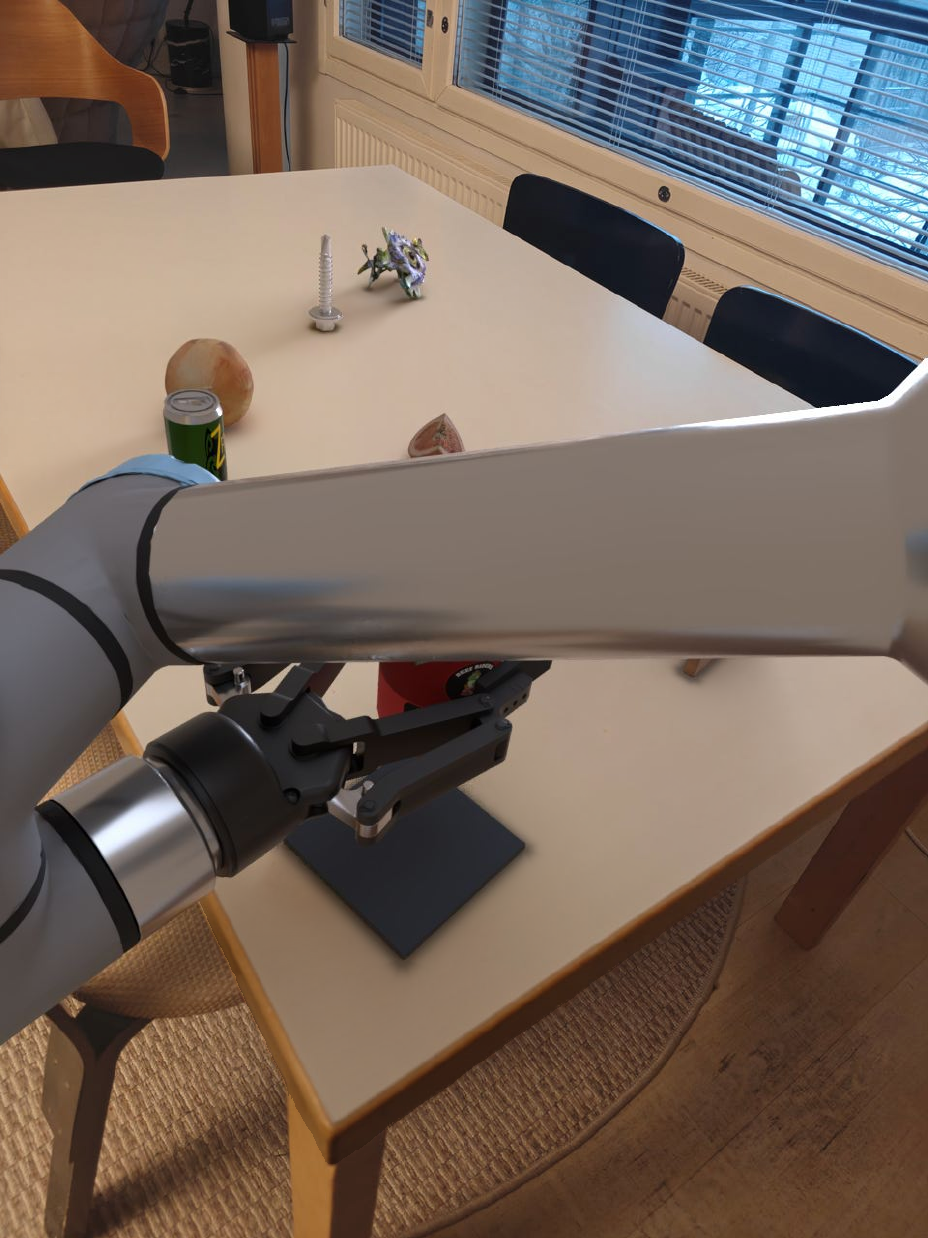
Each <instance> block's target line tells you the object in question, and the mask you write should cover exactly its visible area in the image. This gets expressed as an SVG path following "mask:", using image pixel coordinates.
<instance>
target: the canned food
mask: <svg viewBox="0 0 928 1238" xmlns="http://www.w3.org/2000/svg"><path fill="white" fill-rule="evenodd" d="M501 662H503V661H436V662H378V670H377V671H378V674H377V689H376V690H377V691H376V712H377V717H378V718H382V717H386V716H390V715H394V714H398V713H402V712H406V711H410V710H415V709H419V708H423V707H427V706H431V705H435V704H439V703H443V702H447V701H451V700H455V699H459V698H463V697H467V696H472V695H473V692H474V686H475V680H477V679H478V678H480V677H481V676H483V675H484V674H485V673H487V672H488V671H490V670H492V669H493V668H494V667H496V666H497V665H498V664H500V663H501ZM420 756H421V755H420ZM417 757H419V756H417Z"/></svg>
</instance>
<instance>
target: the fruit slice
mask: <svg viewBox="0 0 928 1238" xmlns="http://www.w3.org/2000/svg"><path fill="white" fill-rule="evenodd" d="M458 452H466V449H465V446H464V442H463V439H462V437H461V435H460V433H459V431H458V430H457V428H456V427H455V424H454V423H453V421H452V420H451V418H450V417H449V416H448V415H447V414H446V413H445V412H444V413H442V414H440V415H439V416H437V417H435V418H433V419H432V420H430V421H428V422H427V423H426V424H424V425H423V426H422V427H421V428H420V429H418V431H417V432H416V433H415V434H414V436H413V437H412V438H411V440H410V441H409V444H408V446H407V454H408V455H409V458H417V457H425V456H434V455H442V454H450V453H458Z"/></svg>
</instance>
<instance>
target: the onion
mask: <svg viewBox="0 0 928 1238" xmlns="http://www.w3.org/2000/svg"><path fill="white" fill-rule="evenodd" d="M164 375H165V376H164V389H165V393H166V397H167V396H168V395H169V394H171V393H173V392H176V391H179V390H184V389H200V390H205V391H209V392H211V393H213V394H215V395H216V396H217V397H218V399H219V404H220V406H221V408H222V411H223V423H224V427H227V426H231V425H233V424H235V423H236V422H239V420H241V419H242V418H243V417H244V416H245V415H246V414H247V413H248V412H249V409H250V407H251V404H252V400H253V396H254V391H255V385H254V379H253V375H252V371H251V369H250V366H249V365H248V363H247V361H246V360H245V358H244V357H243V356H242V354H241V353H240V352H239V351H238V350H237V348H235V347H234V346H233V345H232V344H230V343H228V342H226V341H224V340H221V339H215V338H210V337H209V338H208V337H207V338H206V337H204V338H193V339H190V340H188V341H186V342H185V343H183V344H182V345H181V346H180V347H179V348H178V349H176V351H175V352H174V353H173V354H172V356H171V357H170V358H169V360H168V362H167V365H166V370H165V374H164Z"/></svg>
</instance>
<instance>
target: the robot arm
mask: <svg viewBox="0 0 928 1238" xmlns="http://www.w3.org/2000/svg"><path fill="white" fill-rule="evenodd" d="M839 657H840V658H843V657H844V658H847V657H848V658H849V657H851V658H855V657H856V658H857V657H860V658H861V657H862V658H863V657H885V658H889V659H893V660H895V661H896V662H898V663H899V664H900V665H901V666H903V667H904V668H905V669H907V670H908V671H909V672H910V673H911V674H912V675H914V676H915V677H916V678H918V680H920V681H921V682H922V683H924V684H925V685H926V686H928V358H925V359H924V360H923V361H922V362H921V363H919V364H918V366H917V367H915V369H914V370H913V371H911V373H910V374H909V375H908V376H907V377H906V378H905V379H904V380H902V382H901V383H899V385H897V387H896V388H895V389H894V390H893V391H892V392H891V393H890V394H889V395H888V396H885V397H884V398H882V399H880V400H878V401H870V402H863V403H861V402H860V403H853V404H847V405H839V406H838V405H837V406H829V407H821V408H820V407H819V408H813V409H805V410H804V409H803V410H796V411H788V412H781V413H771V414H764V415H756V416H748V417H739V418H730V419H722V420H715V421H707V422H698V423H688V424H682V425H680V424H679V425H673V426H664V427H657V428H649V429H647V428H646V429H641V430H640V429H639V430H633V431H632V430H631V431H623V432H616V433H615V432H614V433H608V434H607V433H606V434H599V435H592V436H591V435H589V436H582V437H574V438H566V439H558V440H551V441H541V442H532V443H526V444H517V445H511V446H510V445H509V446H499V447H492V448H483V449H477V450H476V449H475V450H467V451H466V450H465V452H458V453H450V454H442V455H434V456H425V457H417V458H411V457H409V458H402V459H394V460H385V461H378V462H369V463H362V464H351V465H345V466H336V467H335V466H334V467H327V468H319V469H312V470H302V471H294V472H287V473H285V472H284V473H278V474H271V475H269V474H268V475H262V476H261V475H260V476H254V477H245V478H238V479H237V478H236V479H228V481H220V480H219V479H217V478H216V477H215V476H214V475H212V474H211V473H210V472H209V471H207V470H205V469H204V468H202V467H200V466H198V465H197V464H187V463H185V462H182V461H180V460H177V459H175V457H173V456H171V455H169V454H164V453H149V454H142V455H137V456H135V457H132V458H130V459H127V460H126V461H124V462H122V463H121V464H119V465H117V466H116V467H114V468H113V469H111V470H109V471H108V472H107V473H105V474H103V475H101V476H98V477H95V478H93V479H91V480H89V481H86V483H84V484H83V485H82V486H81V487H80V488H79V489H78V490H77V491H75V492H73V493H72V494H71V495H70V496H68V498H67V499H66V501H65V502H64V503H63V504H62V505H61V506H60V507H58V508H57V509H56V510H54V512H52V513H50V515H48V516H47V517H45V519H43V520H42V521H41V522H40V523H39V524H37V525H36V526H35V527H34V528H32V529H31V530H29V532H27V533H26V534H25V535H24V536H22V537H21V538H20V539H18V540H17V541H16V542H15V543H14V544H12V545H10V547H9V548H7V549H6V550H5V551H3V552H2V553H1V554H0V1047H1V1046H2V1045H4V1044H5V1043H6V1042H8V1041H9V1040H11V1039H12V1038H14V1036H16V1035H17V1034H19V1033H20V1032H21V1031H23V1030H24V1029H25V1028H27V1027H28V1026H30V1025H31V1024H32V1023H33V1022H35V1021H36V1020H38V1019H39V1018H41V1017H42V1016H43V1015H44V1014H46V1013H47V1012H49V1011H50V1010H51V1009H53V1008H54V1007H55V1006H56V1005H58V1004H59V1003H60V1002H62V1001H64V1000H65V999H67V998H68V997H69V996H70V995H72V994H73V993H74V992H76V991H77V990H78V989H80V988H82V987H83V986H84V985H85V984H86V983H88V982H90V981H91V980H92V979H94V978H95V977H96V976H97V975H98V974H100V973H101V972H103V971H104V970H106V969H107V968H108V967H110V966H111V965H112V964H114V963H115V962H116V961H118V960H119V959H120V958H122V957H123V955H124V954H126V953H127V952H129V951H130V950H132V949H133V948H134V947H135V946H137V945H138V944H140V943H142V942H143V941H145V940H146V939H148V938H149V937H150V936H152V935H153V934H155V933H156V932H157V931H159V930H160V929H162V928H163V927H164V926H166V925H167V924H168V923H170V922H171V921H173V920H174V919H175V918H177V917H178V916H180V915H181V914H183V913H184V912H186V911H187V910H188V909H190V908H191V907H193V906H194V905H195V904H196V903H198V902H199V901H201V900H203V898H206V896H207V895H209V894H211V893H212V892H213V891H214V889H215V887H216V882H217V877H218V878H227V879H230V878H231V879H232V878H233V877H235V876H237V875H238V874H240V873H241V872H242V871H243V870H245V869H247V868H248V867H249V866H250V865H252V864H253V863H255V862H256V861H258V860H259V859H260V858H262V857H263V856H264V855H266V854H267V853H269V852H270V851H272V850H273V849H275V848H276V847H278V846H279V845H281V843H283V842H284V840H285V839H286V838H287V837H288V836H289V835H290V833H291V832H292V831H293V830H294V829H295V828H296V827H297V826H299V825H300V824H301V823H303V822H305V821H307V820H310V819H314V818H319V817H324V816H327V815H329V814H330V813H331V814H332V815H334V816H335V817H337V818H339V819H340V820H342V821H343V822H345V823H346V824H348V825H350V826H351V827H353V828H354V829H355V830H356V832H355V838H356V841H357V842H358V843H359V844H360V845H362V846H364V847H370V846H373V845H375V844H376V843H377V842H378V841H379V840H380V839H381V838H382V837H383V836H384V834H385V833H386V832H387V831H388V830H389V829H390V828H391V827H392V825H393V824H394V823H395V822H396V821H397V820H398V819H400V818H402V817H403V816H405V815H407V814H409V813H411V812H413V811H414V810H416V809H418V808H420V807H422V806H424V805H425V804H427V803H429V802H431V801H433V800H435V799H436V798H438V797H440V796H442V795H444V794H445V793H447V792H449V791H451V790H453V789H455V788H456V787H457V788H458V787H461V786H462V785H464V784H466V783H467V782H469V781H471V780H473V779H474V778H477V777H478V776H481V775H482V774H484V773H486V772H487V771H490V770H491V769H493V768H495V767H496V766H499V765H500V764H503V763H504V762H505V761H506V758H507V755H508V751H509V745H510V742H511V736H512V732H513V723H512V722H511V720H509V719H508V717H509V716H510V715H511V714H512V713H514V712H515V711H516V710H518V709H519V708H520V707H522V706H523V705H524V704H526V702H527V701H528V700H529V697H530V694H531V689H532V685H533V682H535V681H536V680H537V679H538V678H540V677H541V676H543V675H544V674H546V673H547V672H548V671H549V670H551V669H552V663H553V661H589V660H590V661H593V660H596V661H597V660H598V661H599V660H601V661H603V660H676V659H677V660H681V659H682V660H684V659H686V660H688V659H692V658H714V659H758V658H759V659H761V658H762V659H763V658H764V659H765V658H766V659H767V658H769V659H771V658H775V659H777V658H839ZM436 661H503V662H501V663H500V664H498V665H497V666H496V667H494V668H493V669H492V670H490V671H488V672H487V673H485V674H484V675H483V676H481V677H480V678H478V679H477V680H475V686H474V692H473V695H472V696H467V697H463V698H459V699H455V700H451V701H447V702H443V703H439V704H435V705H431V706H427V707H423V708H419V709H415V710H410V711H406V712H402V713H398V714H394V715H390V716H386V717H382V718H379V717H378V718H372V717H371V716H370V715H366V714H365V715H360V716H356V717H351V718H347V719H346V718H345V716H344V717H343V716H342V715H341V714H339V713H337V712H335V711H333V710H331V709H329V708H328V707H327V705H326V703H325V702H324V700H323V699H322V698H323V697H324V696H325V694H326V693H327V692H328V690H329V689H330V687H331V686H332V685H333V683H334V681H336V679H337V677H338V676H339V675H340V673H341V672H342V670H343V669H344V667H345V666H346V664H347V663H348V664H349V663H351V664H352V663H379V662H436ZM292 664H295V665H293V666H292V667H291V668H290V669H289V671H288V672H287V673H286V675H285V676H284V677H283V679H282V680H281V681H280V683H278V685H277V686H276V687H275V689H274V690H273V691H270V692H258V693H255V692H256V691H258V690H259V689H261V688H262V687H263V686H265V685H266V684H267V683H269V682H270V681H271V680H272V679H274V678H275V677H276V676H278V675H279V674H281V672H283V671H284V670H285V669H287V668H288V667H289V666H291V665H292ZM296 664H299V665H296ZM168 666H169V667H170V666H171V667H172V666H175V667H176V666H177V667H179V666H180V667H181V666H182V667H183V666H185V667H186V666H187V667H188V666H191V667H192V666H203V667H202V675H203V682H204V690H205V699H206V702H207V704H209V705H210V706H212V707H218V709H217V711H204V712H203V711H202V712H200V713H199V714H197V715H195V716H193V717H191V718H189V719H188V720H186V721H184V722H183V723H181V724H179V725H178V726H176V727H174V728H172V729H170V730H168V731H167V732H165V733H163V734H162V735H160V736H158V737H156V738H154V739H153V740H151V741H149V742H148V743H147V744H146V745H145V749H144V751H143V753H142V756H141V755H136V754H132V753H129V754H126V755H122V756H121V757H120V758H117V759H116V760H114V761H112V762H111V763H109V764H107V765H106V766H104V767H102V768H100V769H98V770H97V771H96V772H94V773H92V774H90V775H89V776H87V777H85V778H83V779H81V780H80V781H78V782H77V783H75V784H73V785H71V786H70V787H68V788H65V790H63V791H61V792H59V793H58V794H55V795H54V796H53V797H51V798H49V799H48V800H45V801H43V802H41V801H42V800H43V799H44V798H45V796H46V795H47V794H49V792H50V791H51V790H52V788H54V786H55V785H56V784H57V783H58V782H59V781H60V779H61V778H62V777H63V776H64V775H65V774H66V773H67V771H68V770H69V769H70V768H71V767H72V766H73V765H74V764H75V762H76V761H77V760H78V759H79V758H80V757H81V756H82V754H83V753H84V752H85V751H86V750H87V749H88V748H89V746H90V745H91V744H92V743H93V742H94V740H95V739H96V738H97V737H98V736H99V735H100V734H101V733H102V732H103V730H104V729H105V728H106V727H107V726H108V725H109V723H110V722H111V721H112V720H114V718H115V717H116V716H117V715H118V714H119V713H120V712H122V709H124V708H125V706H126V705H127V704H128V703H129V702H130V701H131V700H132V699H133V698H134V697H135V695H136V694H137V693H138V692H139V691H140V689H142V688H143V686H144V685H145V684H146V683H147V682H148V681H149V680H150V678H152V676H153V675H154V674H155V673H156V672H157V671H159V670H160V669H162V668H166V667H168ZM355 744H356V748H355ZM354 748H355V749H356V750H354ZM420 755H421V756H420ZM416 756H419V757H417V758H416V759H414V760H412V761H410V762H408V763H406V764H404V765H402V766H400V767H398V768H396V769H394V770H392V771H391V772H389V773H387V774H386V775H384V776H383V777H382V778H380V779H379V780H378V781H377V782H376V783H375V784H374V783H373V782H372V781H365V782H364V783H363V785H362V786H361V787H359V788H357V789H355V790H349V789H345V787H346V785H347V782H348V781H352V780H355V779H359V778H363V777H367V776H368V775H370V774H372V773H373V772H375V770H376V769H378V768H379V767H380V766H382V765H386V764H390V763H393V762H397V761H401V760H405V759H408V758H412V757H416ZM40 802H41V803H40Z"/></svg>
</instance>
